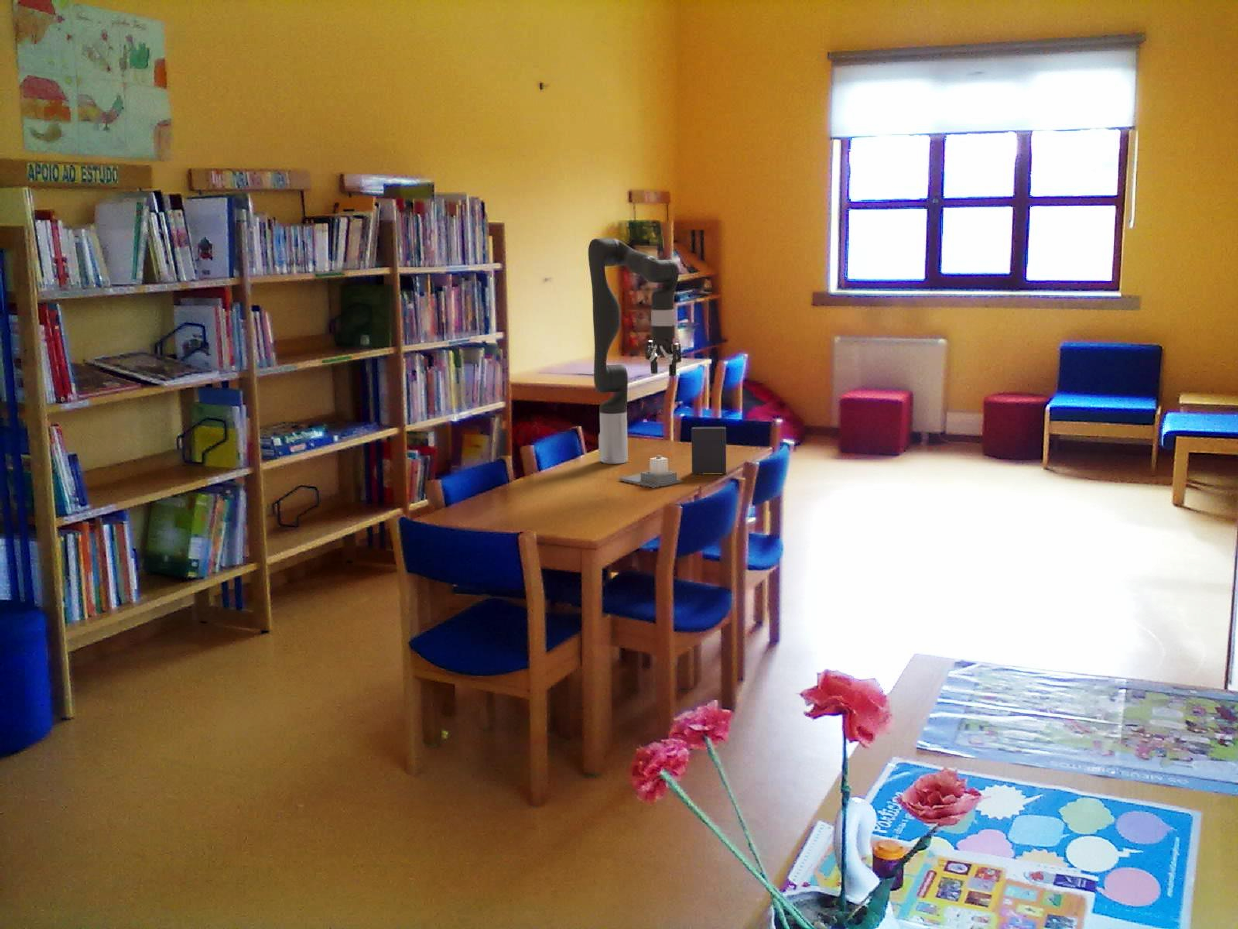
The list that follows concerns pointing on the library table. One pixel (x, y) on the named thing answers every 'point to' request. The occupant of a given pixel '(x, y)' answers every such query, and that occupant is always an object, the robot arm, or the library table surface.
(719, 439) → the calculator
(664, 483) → the grey base with socket
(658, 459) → the charger
